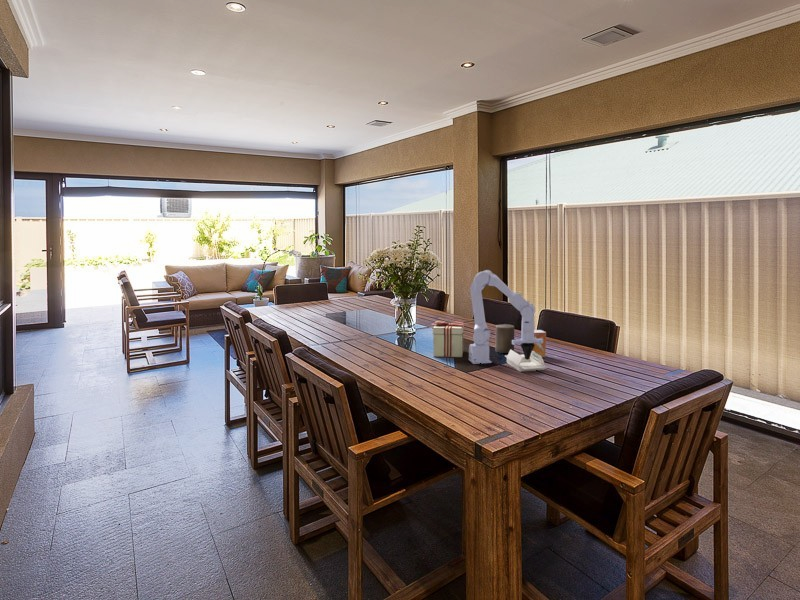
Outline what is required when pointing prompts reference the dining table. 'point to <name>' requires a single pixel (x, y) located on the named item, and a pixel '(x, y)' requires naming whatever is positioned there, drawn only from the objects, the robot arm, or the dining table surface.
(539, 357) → the flap
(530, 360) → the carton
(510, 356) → the flap
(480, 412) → the dining table surface
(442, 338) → the gift box
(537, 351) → the small box
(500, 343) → the pillar candle
